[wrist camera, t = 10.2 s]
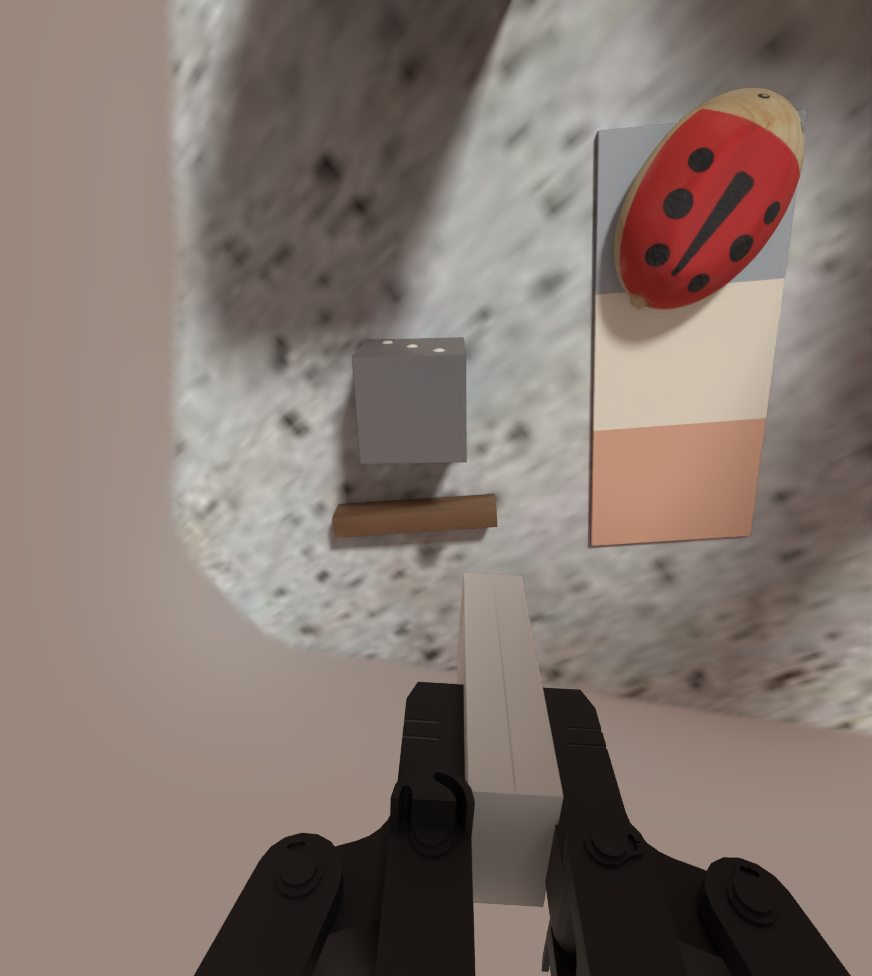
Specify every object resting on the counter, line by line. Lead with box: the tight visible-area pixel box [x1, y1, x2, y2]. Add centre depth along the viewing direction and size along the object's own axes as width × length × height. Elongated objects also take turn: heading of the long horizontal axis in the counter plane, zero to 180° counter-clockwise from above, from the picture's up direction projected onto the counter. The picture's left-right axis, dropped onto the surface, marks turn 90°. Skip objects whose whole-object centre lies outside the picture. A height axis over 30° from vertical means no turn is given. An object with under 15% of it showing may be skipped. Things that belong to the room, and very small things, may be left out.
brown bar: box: [332, 494, 497, 538], centre depth 33 cm, size 1×9×2 cm, turn 95°
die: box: [352, 338, 467, 464], centre depth 29 cm, size 5×5×5 cm
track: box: [591, 109, 807, 546], centre depth 30 cm, size 21×9×1 cm, turn 5°
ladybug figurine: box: [614, 87, 805, 310], centre depth 26 cm, size 7×10×4 cm
